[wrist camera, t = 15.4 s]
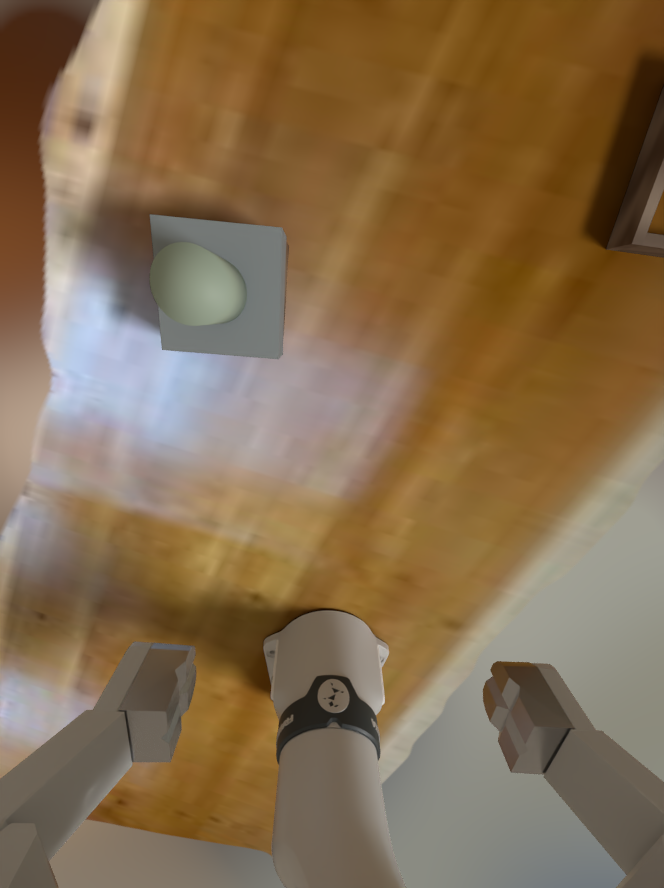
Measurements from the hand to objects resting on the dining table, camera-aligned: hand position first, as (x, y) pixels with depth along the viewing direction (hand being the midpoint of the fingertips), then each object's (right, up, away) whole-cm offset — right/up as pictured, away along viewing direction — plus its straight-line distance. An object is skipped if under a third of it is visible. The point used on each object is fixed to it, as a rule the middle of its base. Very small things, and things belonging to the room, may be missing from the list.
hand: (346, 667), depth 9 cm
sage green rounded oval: (-10, +19, +19) cm, 28 cm away
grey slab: (-10, +20, +22) cm, 31 cm away
